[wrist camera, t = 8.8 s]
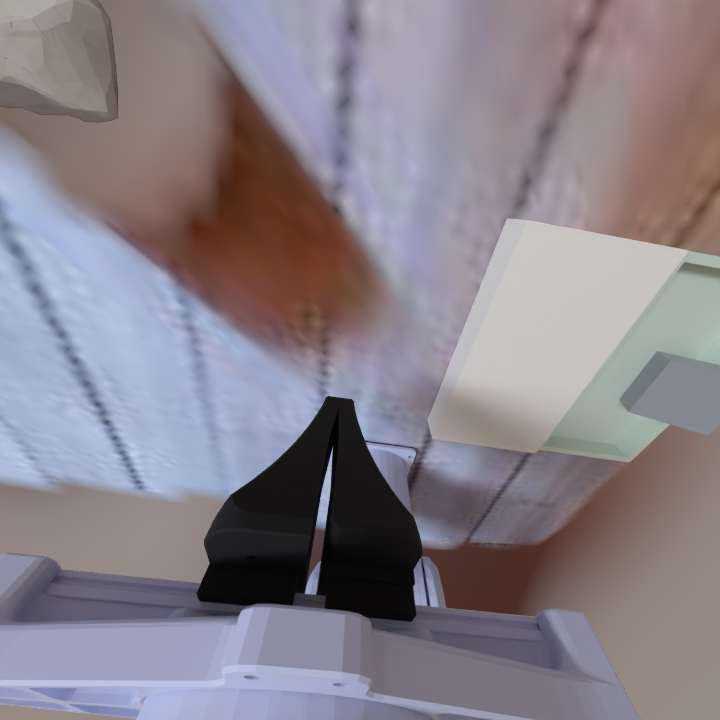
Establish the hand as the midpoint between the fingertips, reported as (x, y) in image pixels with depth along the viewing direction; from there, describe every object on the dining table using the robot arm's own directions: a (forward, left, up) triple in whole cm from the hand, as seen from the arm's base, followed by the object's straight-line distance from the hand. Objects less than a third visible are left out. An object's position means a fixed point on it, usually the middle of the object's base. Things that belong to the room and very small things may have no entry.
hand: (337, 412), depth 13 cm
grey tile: (+1, -26, -6) cm, 27 cm away
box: (+1, -24, -9) cm, 26 cm away
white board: (+1, -14, -9) cm, 17 cm away
